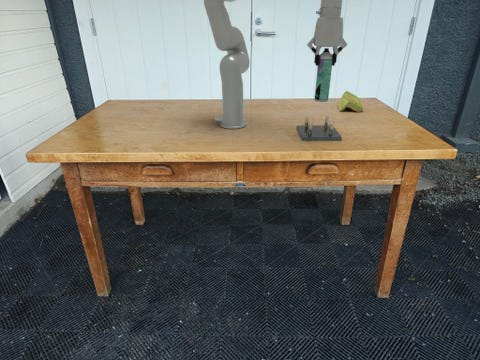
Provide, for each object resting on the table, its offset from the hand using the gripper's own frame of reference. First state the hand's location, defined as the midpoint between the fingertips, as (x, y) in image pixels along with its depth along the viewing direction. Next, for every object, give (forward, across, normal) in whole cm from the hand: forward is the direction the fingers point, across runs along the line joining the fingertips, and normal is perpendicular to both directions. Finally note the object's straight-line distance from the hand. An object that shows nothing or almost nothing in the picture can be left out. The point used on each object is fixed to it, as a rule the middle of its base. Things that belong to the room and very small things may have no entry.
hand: (324, 64), depth 125 cm
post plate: (+28, 0, 0) cm, 28 cm away
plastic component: (+29, +27, +44) cm, 59 cm away
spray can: (+14, 0, 0) cm, 14 cm away
